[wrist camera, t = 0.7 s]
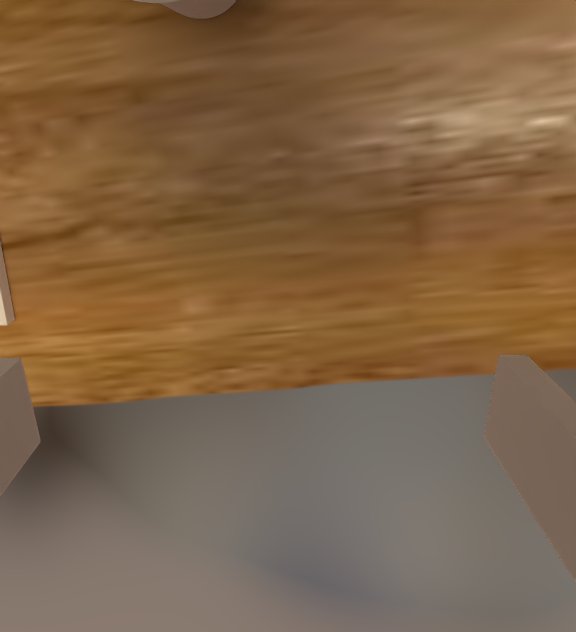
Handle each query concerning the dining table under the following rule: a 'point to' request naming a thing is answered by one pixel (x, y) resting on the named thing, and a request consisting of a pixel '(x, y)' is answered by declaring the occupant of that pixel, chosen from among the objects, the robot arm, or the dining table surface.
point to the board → (5, 295)
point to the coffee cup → (196, 7)
